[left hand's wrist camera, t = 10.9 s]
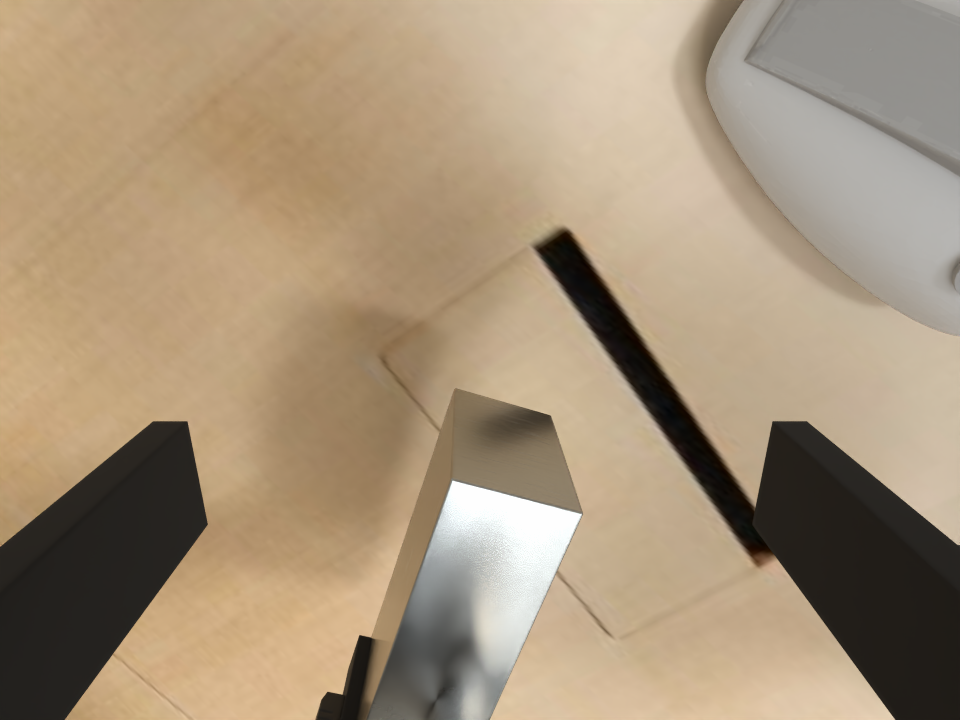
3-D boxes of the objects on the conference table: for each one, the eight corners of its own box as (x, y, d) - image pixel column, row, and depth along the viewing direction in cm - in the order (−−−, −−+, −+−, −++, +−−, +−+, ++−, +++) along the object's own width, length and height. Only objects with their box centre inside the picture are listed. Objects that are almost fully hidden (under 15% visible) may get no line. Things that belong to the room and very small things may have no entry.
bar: (454, 387, 28) (451, 478, 20) (551, 415, 29) (584, 513, 21) (353, 689, 35) (321, 845, 27) (434, 705, 36) (425, 863, 28)
